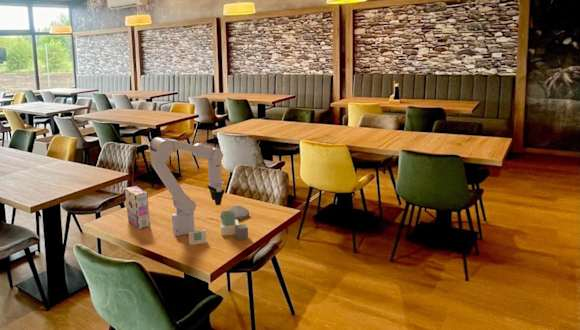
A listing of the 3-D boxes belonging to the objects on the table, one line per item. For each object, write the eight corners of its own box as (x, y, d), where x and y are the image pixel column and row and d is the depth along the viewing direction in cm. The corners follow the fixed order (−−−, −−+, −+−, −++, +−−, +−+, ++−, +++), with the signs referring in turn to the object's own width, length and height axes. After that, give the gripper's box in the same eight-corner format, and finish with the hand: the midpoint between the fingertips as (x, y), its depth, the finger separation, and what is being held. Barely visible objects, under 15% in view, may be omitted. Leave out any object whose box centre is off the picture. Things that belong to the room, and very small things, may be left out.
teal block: (225, 226, 204) (224, 215, 202) (222, 222, 208) (222, 211, 206) (235, 224, 205) (234, 213, 204) (232, 220, 209) (231, 210, 208)
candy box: (150, 226, 213) (147, 192, 208) (138, 230, 209) (134, 195, 205) (139, 218, 223) (136, 185, 219) (127, 220, 220) (124, 187, 216)
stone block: (251, 219, 227) (236, 210, 232) (252, 210, 225) (237, 202, 230) (234, 227, 218) (218, 218, 223) (234, 218, 216) (219, 210, 221)
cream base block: (221, 236, 203) (221, 227, 202) (220, 229, 210) (219, 221, 209) (239, 234, 204) (239, 226, 203) (238, 227, 212) (237, 219, 211)
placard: (190, 245, 193) (189, 234, 192) (188, 242, 196) (188, 231, 195) (206, 242, 196) (206, 231, 194) (205, 239, 198) (204, 228, 197)
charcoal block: (238, 240, 198) (237, 229, 197) (235, 236, 202) (234, 225, 201) (248, 238, 200) (247, 227, 198) (245, 234, 204) (244, 224, 202)
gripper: (227, 177, 206) (228, 206, 210) (220, 168, 219) (221, 196, 223) (211, 178, 204) (213, 208, 207) (205, 170, 217) (206, 198, 220)
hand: (216, 202), depth 215 cm, fingers open, 7 cm apart
